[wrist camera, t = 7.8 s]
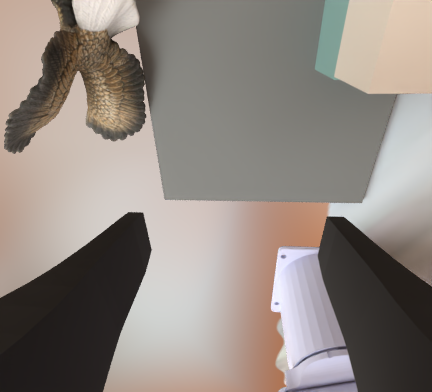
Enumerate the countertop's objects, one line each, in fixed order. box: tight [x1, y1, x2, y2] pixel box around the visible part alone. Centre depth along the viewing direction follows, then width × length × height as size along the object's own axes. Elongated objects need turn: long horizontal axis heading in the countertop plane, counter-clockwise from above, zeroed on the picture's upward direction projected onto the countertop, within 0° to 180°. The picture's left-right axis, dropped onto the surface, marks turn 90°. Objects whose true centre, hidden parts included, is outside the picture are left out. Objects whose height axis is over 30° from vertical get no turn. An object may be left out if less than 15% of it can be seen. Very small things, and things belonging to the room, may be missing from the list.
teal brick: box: [315, 0, 349, 80], centre depth 13 cm, size 4×4×4 cm
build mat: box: [135, 0, 397, 203], centre depth 17 cm, size 18×16×1 cm
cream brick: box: [334, 0, 432, 94], centre depth 9 cm, size 4×4×4 cm
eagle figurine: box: [4, 0, 146, 154], centre depth 15 cm, size 8×8×10 cm
